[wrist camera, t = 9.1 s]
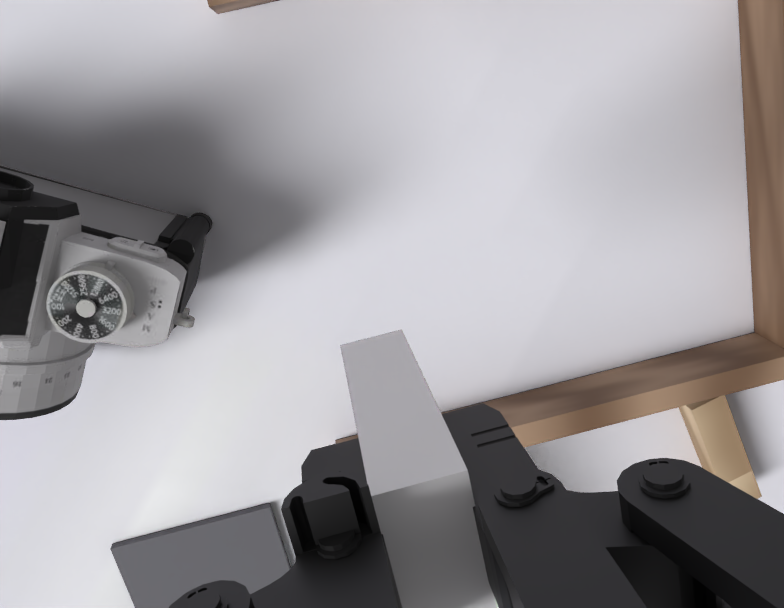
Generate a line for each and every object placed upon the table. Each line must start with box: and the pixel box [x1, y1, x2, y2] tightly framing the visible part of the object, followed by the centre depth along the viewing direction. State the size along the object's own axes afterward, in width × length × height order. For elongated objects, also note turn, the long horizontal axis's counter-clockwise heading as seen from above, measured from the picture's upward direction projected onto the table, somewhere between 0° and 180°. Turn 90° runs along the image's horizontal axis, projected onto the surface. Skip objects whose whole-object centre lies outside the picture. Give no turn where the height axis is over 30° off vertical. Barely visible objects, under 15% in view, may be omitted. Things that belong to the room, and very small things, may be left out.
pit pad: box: [111, 503, 291, 608], centre depth 36 cm, size 8×7×1 cm
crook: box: [679, 395, 762, 499], centre depth 37 cm, size 14×7×2 cm, turn 116°
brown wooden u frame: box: [207, 0, 784, 447], centre depth 31 cm, size 23×22×3 cm
